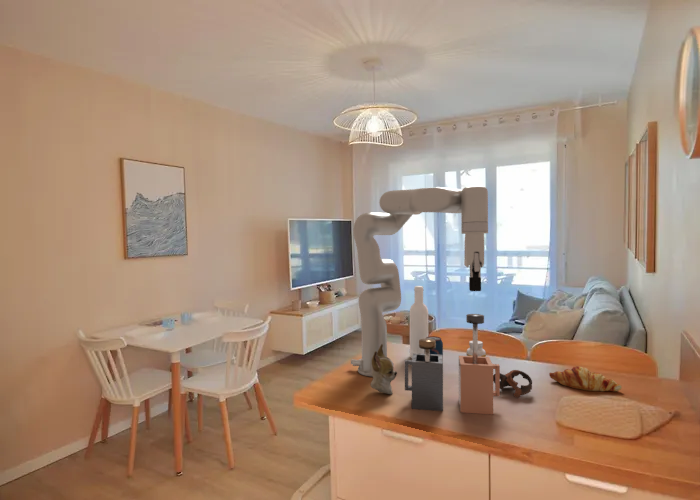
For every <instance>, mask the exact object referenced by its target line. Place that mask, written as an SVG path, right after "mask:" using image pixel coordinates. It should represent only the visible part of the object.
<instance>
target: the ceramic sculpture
mask: <svg viewBox="0 0 700 500" xmlns="http://www.w3.org/2000/svg"><path fill="white" fill-rule="evenodd" d="M382 348H383V344H381V346H380V348H379V350H378V352H376V351H375V353H374V355H373V357H372V366H371V371H372V375H373V377H372V380H371V382H370V387H371V388H372V389H373V390H376V391H378V392H380V393H383V394H387V395H393V390H392V386H391V382H393V381H395V378H396V377H397V374H398V372H397V371H396V370H394V369H395V368H394V362H393V360H392V359H390V358H389V357H388V356H387V357H385V356H384V354H383V350H382Z"/></svg>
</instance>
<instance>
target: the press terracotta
mask: <svg viewBox="0 0 700 500" xmlns="http://www.w3.org/2000/svg"><path fill="white" fill-rule="evenodd" d="M500 368H501V367H500V364H499V363H498V364H497V363H492V360H491V358H490V356H486V357H479V356H478V364H473V356H467V355H458V404H459V410H460V411H459V412H460V413H467V414H481V415H494V397H500V395H501V393H500V390H501V389H500V381H501V380H500V372H501V369H500ZM494 371H495V372H494ZM494 374H495V383H494V381H493V375H494Z"/></svg>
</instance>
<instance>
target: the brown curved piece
mask: <svg viewBox="0 0 700 500" xmlns="http://www.w3.org/2000/svg"><path fill="white" fill-rule="evenodd" d="M519 376H521V377H522V378H523V379H525V380H527V382H528V384H527V385H522V384H521V385H520V386H518V384H519V382H518V381H515V380H514V378H515V377H519ZM493 384H495V373H493ZM506 387H511V388H513V389H514V390H515V391H514V393H513V397H515V398H517V399H519V398H520V397H521V396H524V395H528V394H530V393H531V392H532V391H531V390H533V380H532V378H531V376H530V375H529V374H527V373H526V372H524V371H523V370H519V369H513V370H510V371H509V372H507V373H505V374H502V373H500V390H501V391H502V390H503V389H504V388H506Z"/></svg>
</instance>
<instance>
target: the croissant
mask: <svg viewBox="0 0 700 500" xmlns="http://www.w3.org/2000/svg"><path fill="white" fill-rule="evenodd" d="M548 375H549V378H550V379H552V380H553V381H555V382H558V383H559V384H560V385H562V386H563V387H564V386H566V387H569V388H572V389H577V390H582V391H583V390H584V391H588V392H596V391H597V392H608V391H610V392H619V391H621V390H622V385H621V384H618V383H617V382H616V381H615V380H614V379H612V378H611V379H610V378H608V377H606V376H604V375H603V374H602V372H594V371H592V372H591V371H590V370H589V368H587V367H583V366H576V365H574V366H573V367H572V368H571V369H569V368H567V369H564V370H562V371H559V370H558V371H554V372H549V374H548Z"/></svg>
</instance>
